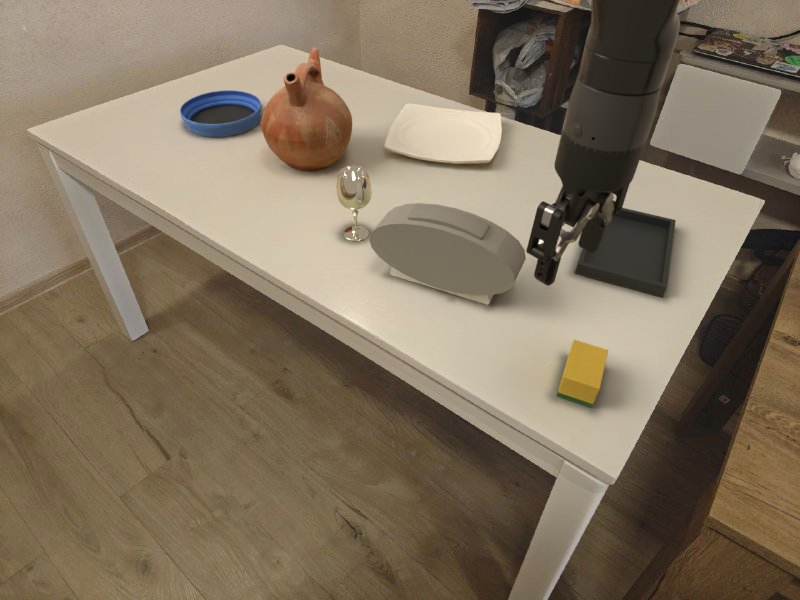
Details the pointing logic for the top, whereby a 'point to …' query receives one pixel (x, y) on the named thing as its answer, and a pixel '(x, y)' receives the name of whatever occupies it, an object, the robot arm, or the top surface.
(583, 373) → the sponge
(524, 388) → the top surface
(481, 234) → the alarm clock
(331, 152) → the jug
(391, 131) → the plate
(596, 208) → the robot arm
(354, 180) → the wineglass
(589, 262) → the tray
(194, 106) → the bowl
